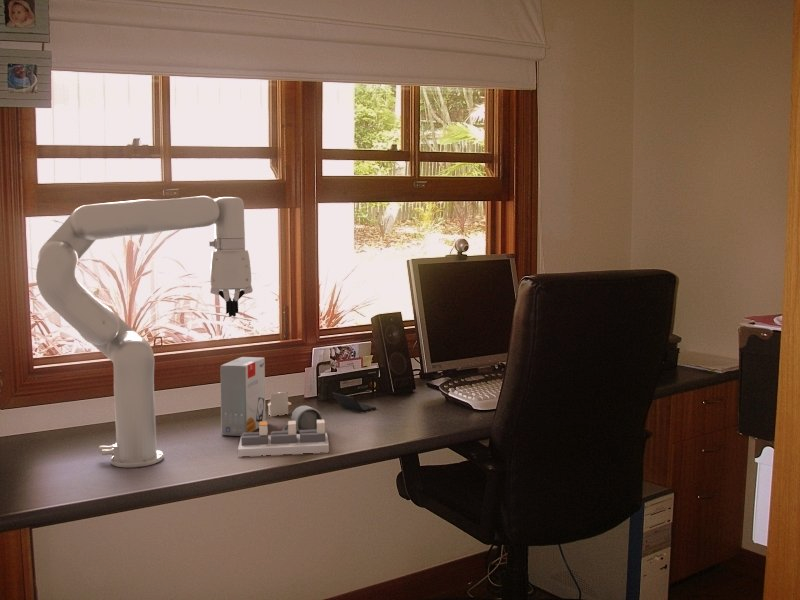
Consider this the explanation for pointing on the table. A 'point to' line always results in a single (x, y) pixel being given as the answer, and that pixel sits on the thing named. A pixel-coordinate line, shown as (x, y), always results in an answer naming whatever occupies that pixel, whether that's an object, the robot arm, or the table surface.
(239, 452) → the white slotted rack
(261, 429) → the breaker handle
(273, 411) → the architectural model
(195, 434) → the table surface
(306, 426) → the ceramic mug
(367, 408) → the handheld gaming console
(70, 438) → the table surface
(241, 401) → the hard drive box
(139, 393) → the robot arm
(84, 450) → the table surface
